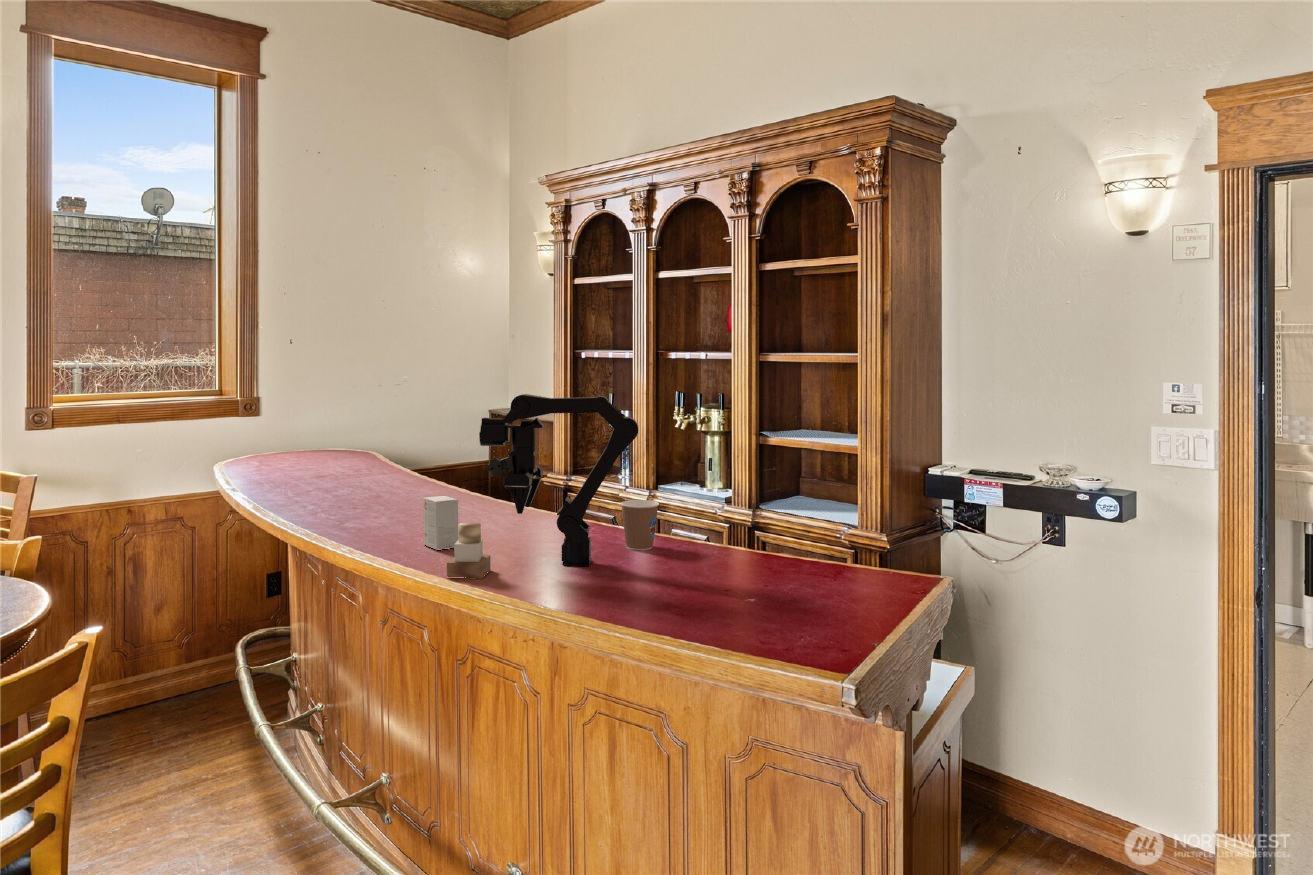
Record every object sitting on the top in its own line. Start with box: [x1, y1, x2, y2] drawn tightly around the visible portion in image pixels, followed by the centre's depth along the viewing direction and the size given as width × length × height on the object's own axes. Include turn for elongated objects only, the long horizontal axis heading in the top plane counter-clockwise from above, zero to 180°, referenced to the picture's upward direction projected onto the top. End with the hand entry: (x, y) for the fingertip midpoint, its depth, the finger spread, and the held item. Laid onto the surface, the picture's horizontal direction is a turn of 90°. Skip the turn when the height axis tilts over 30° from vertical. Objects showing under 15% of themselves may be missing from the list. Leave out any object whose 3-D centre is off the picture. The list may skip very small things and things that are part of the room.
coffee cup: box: [620, 499, 660, 551], centre depth 222 cm, size 10×10×12 cm
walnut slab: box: [446, 554, 491, 579], centre depth 192 cm, size 8×8×4 cm
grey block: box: [453, 538, 484, 562], centre depth 191 cm, size 6×6×4 cm
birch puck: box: [458, 521, 482, 544], centre depth 192 cm, size 5×5×4 cm
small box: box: [423, 495, 459, 549], centre depth 219 cm, size 8×6×13 cm
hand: (523, 510), depth 202 cm, fingers open, 9 cm apart
